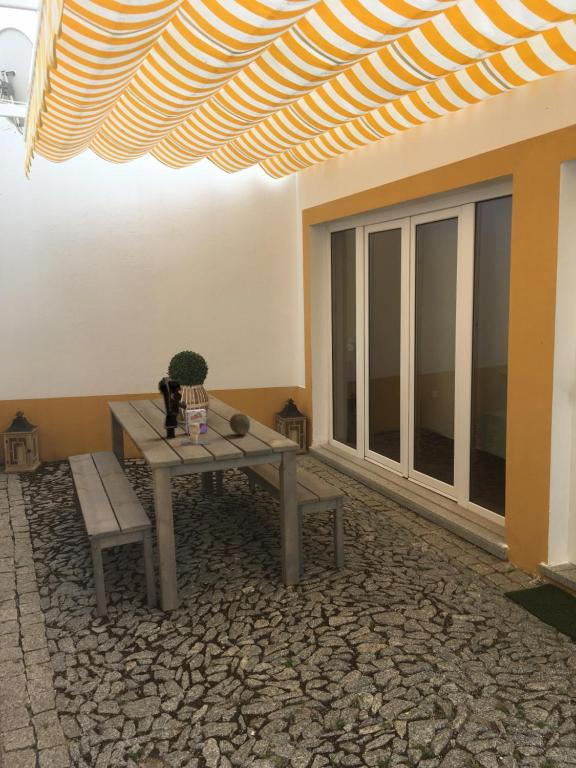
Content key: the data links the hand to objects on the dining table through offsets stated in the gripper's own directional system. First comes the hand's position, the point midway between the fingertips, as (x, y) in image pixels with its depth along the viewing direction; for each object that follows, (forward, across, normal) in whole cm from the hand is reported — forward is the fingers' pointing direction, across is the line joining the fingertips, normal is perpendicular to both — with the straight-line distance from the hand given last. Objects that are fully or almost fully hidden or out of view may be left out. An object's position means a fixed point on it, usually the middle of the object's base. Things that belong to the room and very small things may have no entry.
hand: (174, 422), depth 427 cm
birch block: (+13, -8, -12) cm, 19 cm away
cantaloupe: (+13, +6, -44) cm, 46 cm away
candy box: (+13, +21, -15) cm, 29 cm away
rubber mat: (+13, -8, -13) cm, 20 cm away
